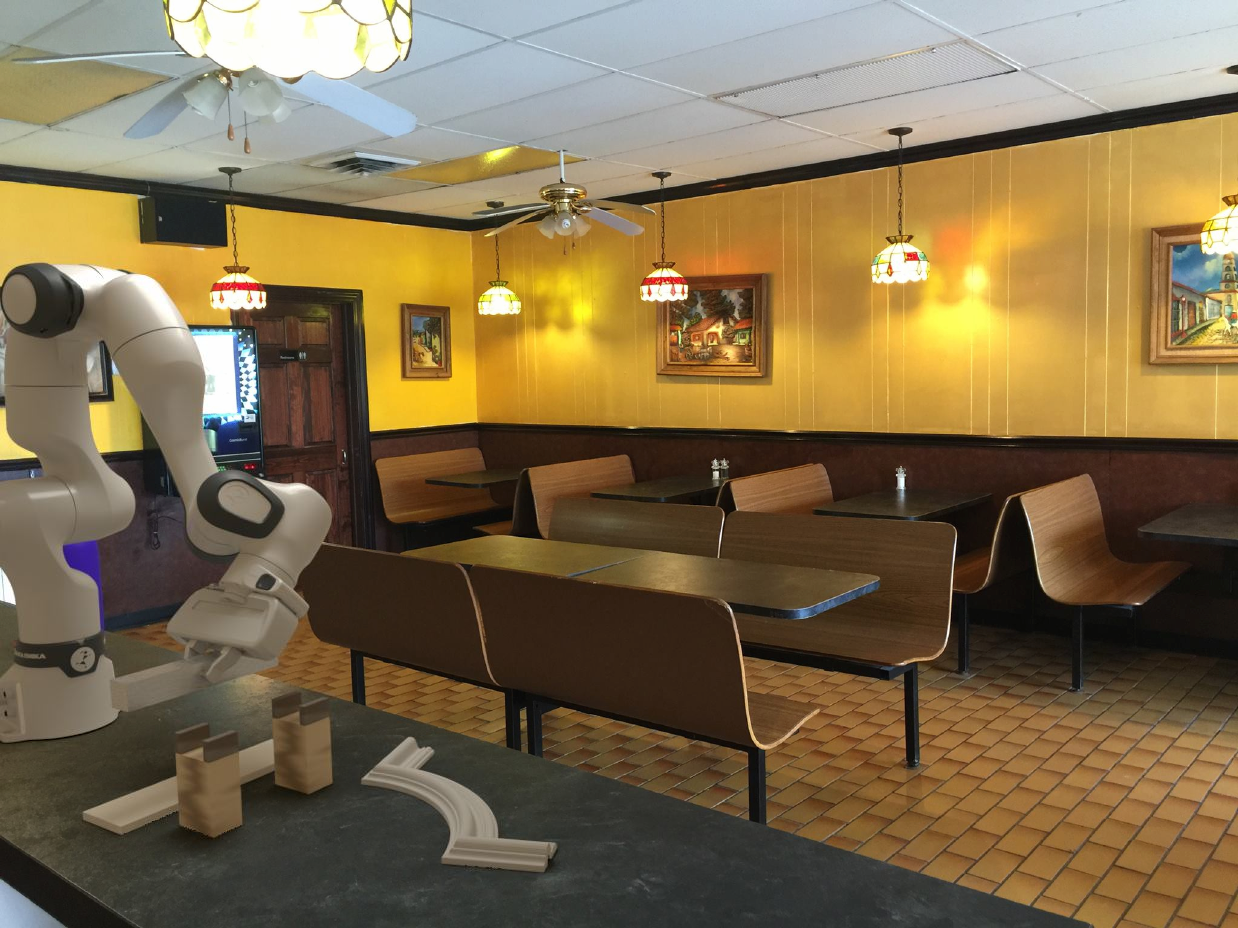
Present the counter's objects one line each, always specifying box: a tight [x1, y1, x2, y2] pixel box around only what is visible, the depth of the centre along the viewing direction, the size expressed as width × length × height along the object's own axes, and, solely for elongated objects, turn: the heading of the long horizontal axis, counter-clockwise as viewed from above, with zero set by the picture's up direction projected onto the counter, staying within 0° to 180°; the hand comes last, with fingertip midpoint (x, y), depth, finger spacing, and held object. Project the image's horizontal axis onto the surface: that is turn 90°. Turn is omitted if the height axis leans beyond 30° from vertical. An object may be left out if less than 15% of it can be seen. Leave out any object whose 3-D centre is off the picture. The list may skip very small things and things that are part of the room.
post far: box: [271, 690, 333, 795], centre depth 131 cm, size 6×4×12 cm, turn 58°
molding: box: [360, 736, 558, 873], centre depth 123 cm, size 42×12×3 cm, turn 34°
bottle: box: [63, 540, 106, 638], centre depth 193 cm, size 8×8×30 cm
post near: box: [174, 722, 243, 839], centre depth 119 cm, size 6×4×12 cm, turn 58°
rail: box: [110, 650, 279, 713], centre depth 130 cm, size 4×22×4 cm, turn 148°
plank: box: [82, 738, 275, 836], centre depth 131 cm, size 8×28×1 cm, turn 148°
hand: (195, 677), depth 129 cm, fingers closed on rail, 3 cm apart
